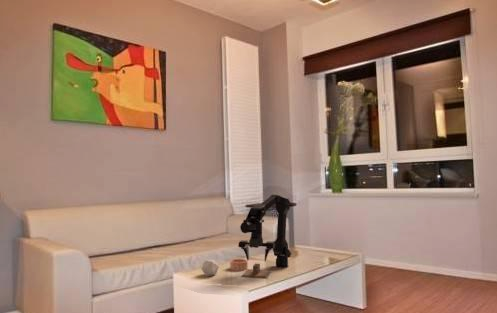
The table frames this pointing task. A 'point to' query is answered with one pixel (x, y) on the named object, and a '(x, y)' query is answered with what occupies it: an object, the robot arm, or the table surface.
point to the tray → (261, 278)
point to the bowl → (239, 264)
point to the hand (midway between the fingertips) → (256, 260)
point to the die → (210, 267)
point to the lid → (256, 272)
